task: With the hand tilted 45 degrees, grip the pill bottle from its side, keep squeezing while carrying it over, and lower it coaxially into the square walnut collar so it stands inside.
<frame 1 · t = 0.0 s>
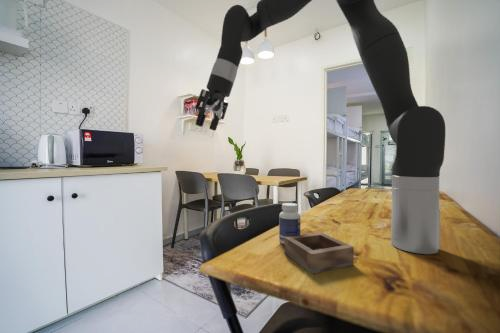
hand: (205, 127, 72), 31 cm above the table, tool tilted 20°, fingers open, 8 cm apart
pill bottle: (289, 242, 58), on the table
collar: (316, 258, 48), on the table
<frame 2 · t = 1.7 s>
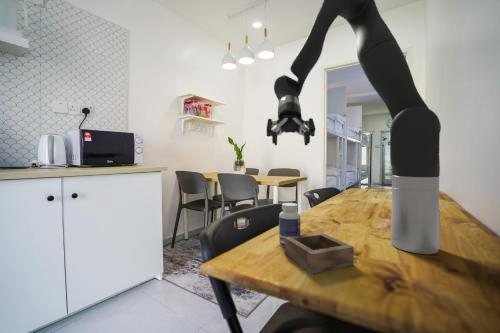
hand: (291, 143, 64), 26 cm above the table, tool tilted 45°, fingers open, 8 cm apart
nothing on the table moved.
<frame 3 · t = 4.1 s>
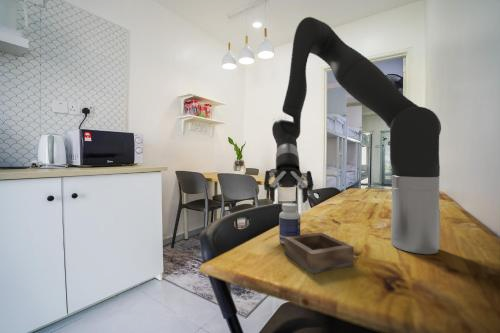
hand: (288, 200, 63), 10 cm above the table, tool tilted 45°, fingers open, 8 cm apart
nothing on the table moved.
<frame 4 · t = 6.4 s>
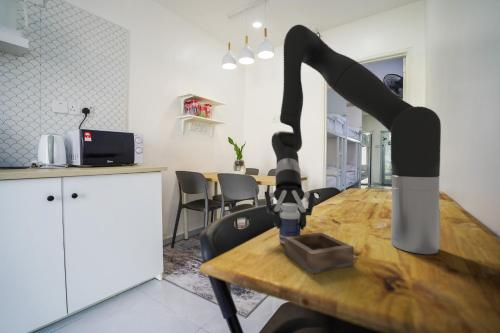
hand: (290, 227, 56), 4 cm above the table, tool tilted 45°, fingers closed on pill bottle, 5 cm apart
pill bottle: (289, 242, 58), on the table, touching gripper
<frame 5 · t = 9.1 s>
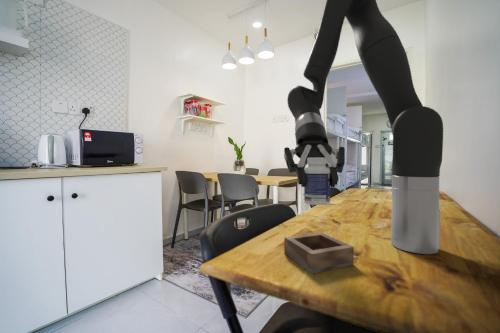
hand: (318, 184, 46), 16 cm above the table, tool tilted 45°, fingers closed on pill bottle, 5 cm apart
pill bottle: (316, 204, 48), point 12 cm above the table, touching gripper
when the fingers open (6 cm above the table, at t = 12.0 s): pill bottle drops 1 cm, resting on collar.
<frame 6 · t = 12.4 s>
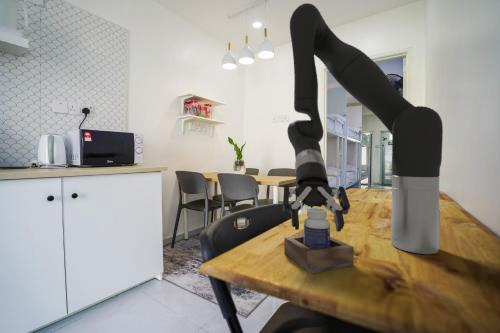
hand: (318, 228, 47), 7 cm above the table, tool tilted 45°, fingers open, 8 cm apart
pill bottle: (316, 256, 48), resting on collar
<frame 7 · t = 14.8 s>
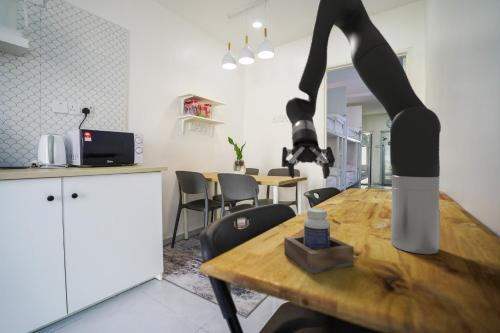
hand: (309, 176, 59), 17 cm above the table, tool tilted 45°, fingers open, 8 cm apart
nothing on the table moved.
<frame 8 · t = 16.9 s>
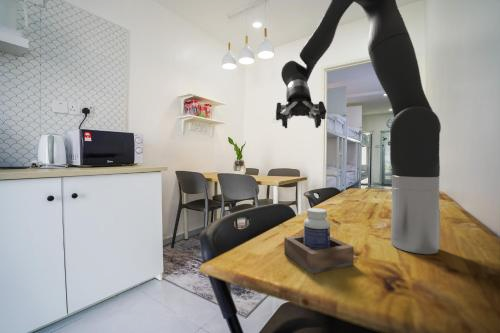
hand: (301, 125, 62), 31 cm above the table, tool tilted 45°, fingers open, 8 cm apart
nothing on the table moved.
at the end: pill bottle 0.2 cm from the collar (horizontally); pill bottle tilted 0°; the gripper is holding nothing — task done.
